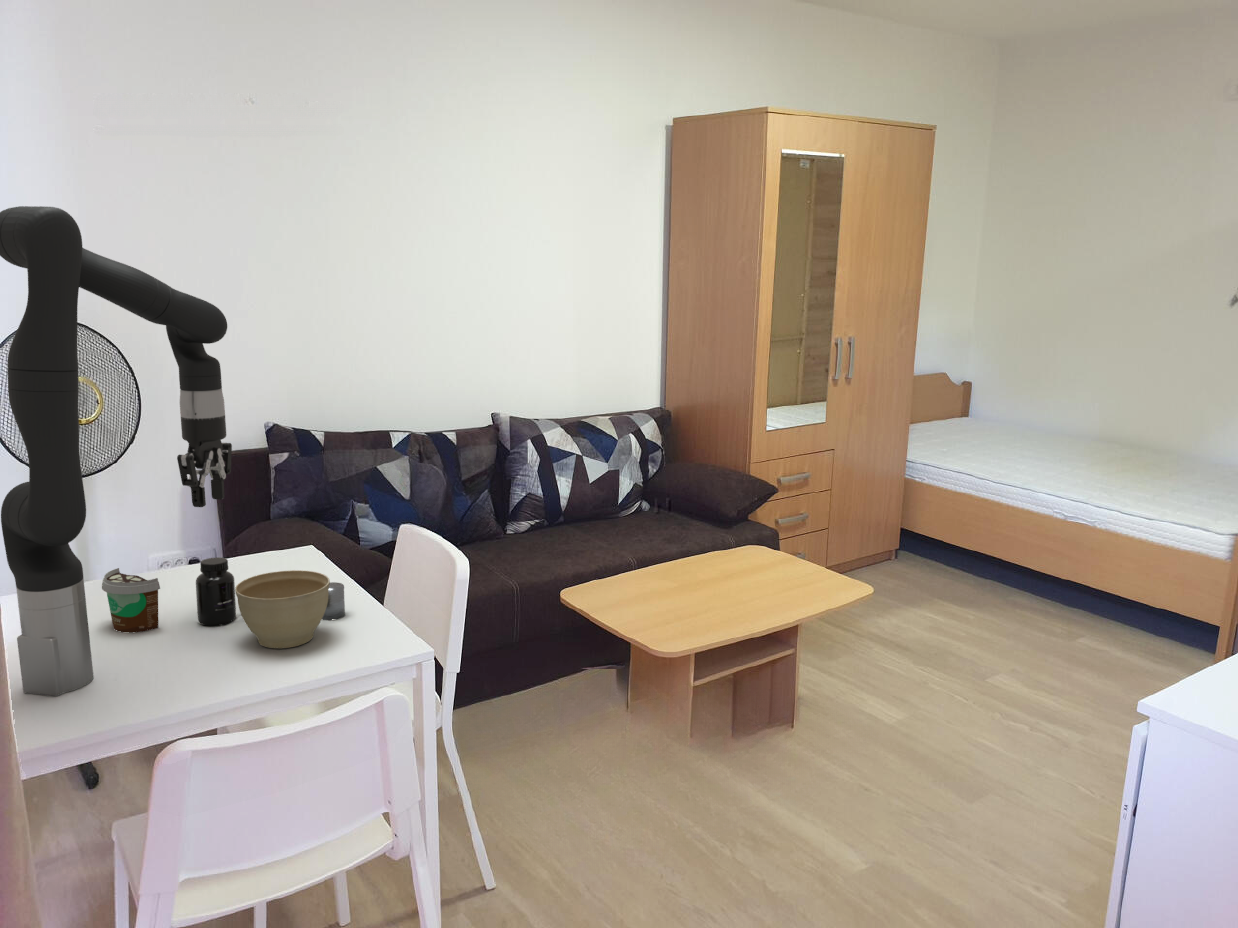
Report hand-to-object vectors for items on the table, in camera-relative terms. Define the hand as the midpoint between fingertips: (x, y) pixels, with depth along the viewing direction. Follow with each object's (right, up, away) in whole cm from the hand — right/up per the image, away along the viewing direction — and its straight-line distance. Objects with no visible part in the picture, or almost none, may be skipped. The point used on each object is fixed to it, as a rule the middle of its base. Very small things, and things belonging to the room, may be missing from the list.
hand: (209, 502), depth 174 cm
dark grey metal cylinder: (+20, -23, +9) cm, 32 cm away
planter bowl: (+16, -25, -3) cm, 30 cm away
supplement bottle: (0, -23, +5) cm, 24 cm away
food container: (-15, -24, 0) cm, 28 cm away
